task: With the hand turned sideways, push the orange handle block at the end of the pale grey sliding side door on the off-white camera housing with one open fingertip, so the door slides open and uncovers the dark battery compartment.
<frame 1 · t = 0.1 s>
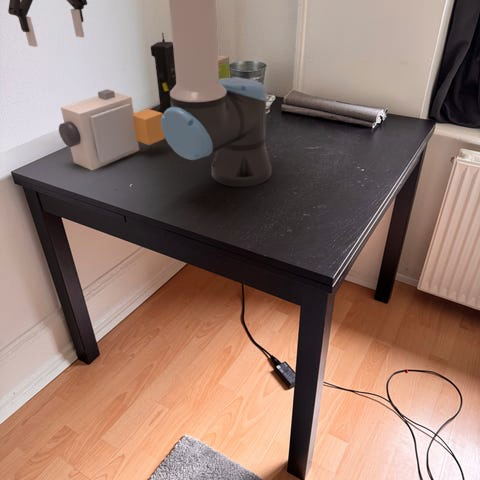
hand: (57, 41, 116), 28 cm above the table, tool pointing down, fingers open, 13 cm apart
camera housing: (107, 156, 125), on the table
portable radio: (170, 118, 149), on the table
side door: (130, 131, 118), point 8 cm above the table, slide at 0.0 cm
tea box: (206, 99, 165), on the table
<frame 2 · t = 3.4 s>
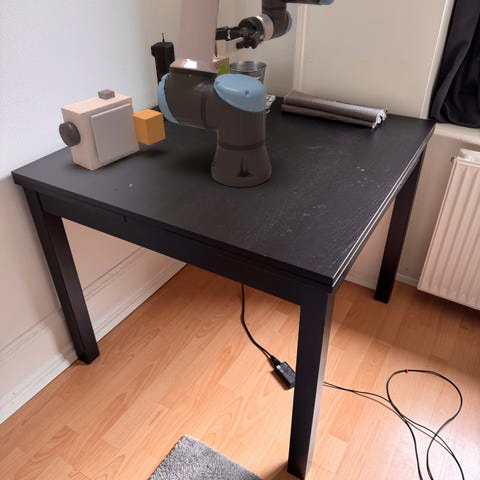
hand: (206, 44, 119), 26 cm above the table, tool horizontal, fingers open, 13 cm apart
nothing on the table moved.
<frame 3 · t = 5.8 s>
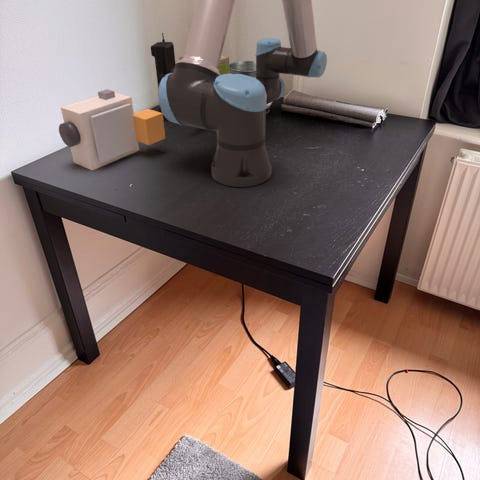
hand: (202, 117, 128), 7 cm above the table, tool horizontal, fingers open, 13 cm apart
nothing on the table moved.
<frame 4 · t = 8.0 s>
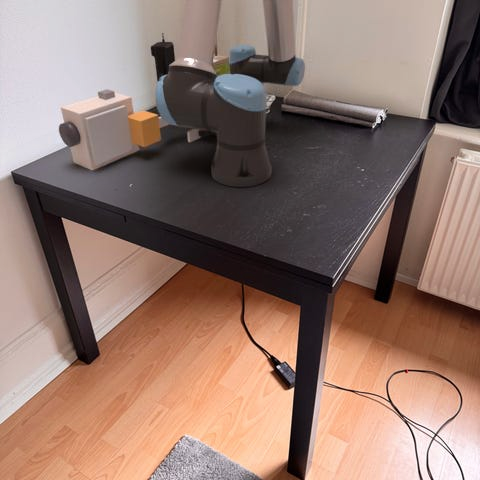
hand: (169, 131, 120), 7 cm above the table, tool horizontal, fingers open, 13 cm apart
side door: (125, 133, 117), point 8 cm above the table, slide at 1.6 cm, touching gripper
everything else where it was.
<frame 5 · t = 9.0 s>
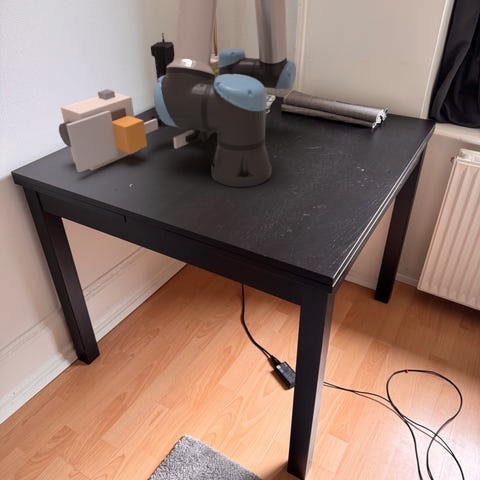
hand: (156, 136, 116), 7 cm above the table, tool horizontal, fingers open, 13 cm apart
side door: (109, 139, 114), point 8 cm above the table, slide at 6.7 cm, touching gripper
everything else where it was.
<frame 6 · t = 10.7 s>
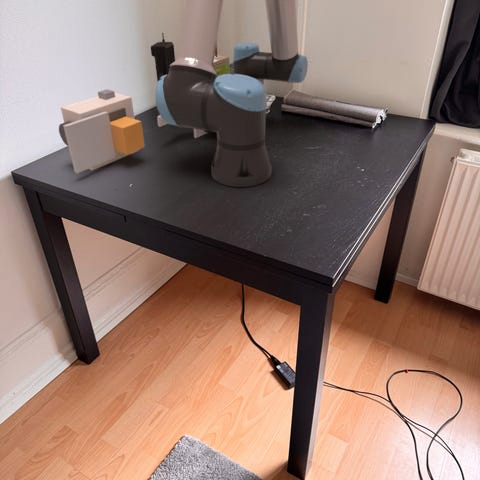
hand: (176, 127, 121), 8 cm above the table, tool horizontal, fingers open, 13 cm apart
side door: (107, 140, 113), point 8 cm above the table, slide at 7.5 cm
everything else where it was.
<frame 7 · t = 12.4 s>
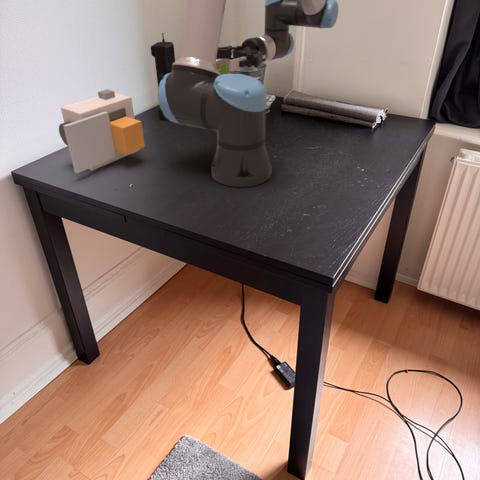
hand: (210, 62, 122), 21 cm above the table, tool horizontal, fingers open, 13 cm apart
nothing on the table moved.
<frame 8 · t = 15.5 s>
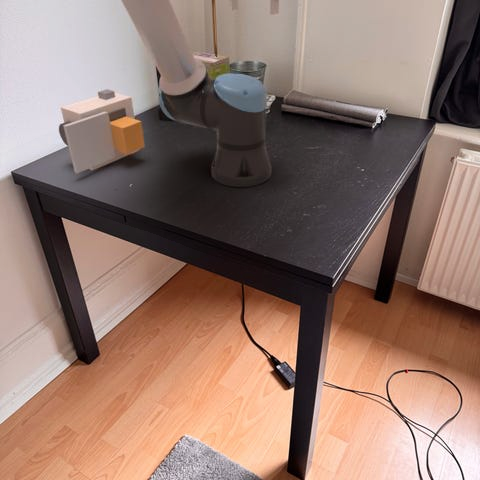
hand: (253, 11, 121), 33 cm above the table, tool pointing down, fingers open, 13 cm apart
nothing on the table moved.
at the end: side door slide at 7.5 cm; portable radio moved 0.2 cm from its start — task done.
